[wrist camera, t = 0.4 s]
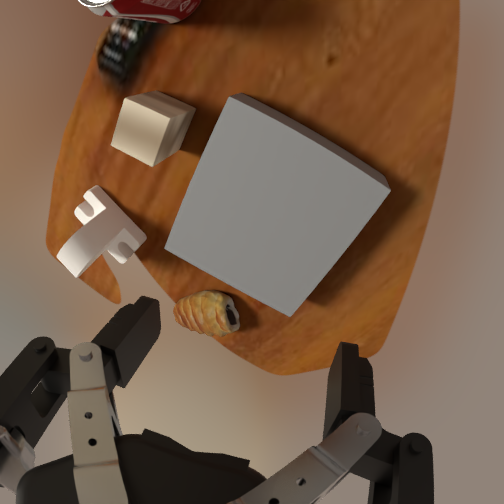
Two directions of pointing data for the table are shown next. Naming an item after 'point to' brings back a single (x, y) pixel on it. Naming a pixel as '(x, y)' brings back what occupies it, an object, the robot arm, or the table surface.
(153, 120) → the ash block
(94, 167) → the table surface
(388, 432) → the robot arm
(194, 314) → the pastry
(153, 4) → the soda can
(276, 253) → the base
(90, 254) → the cable organizer
